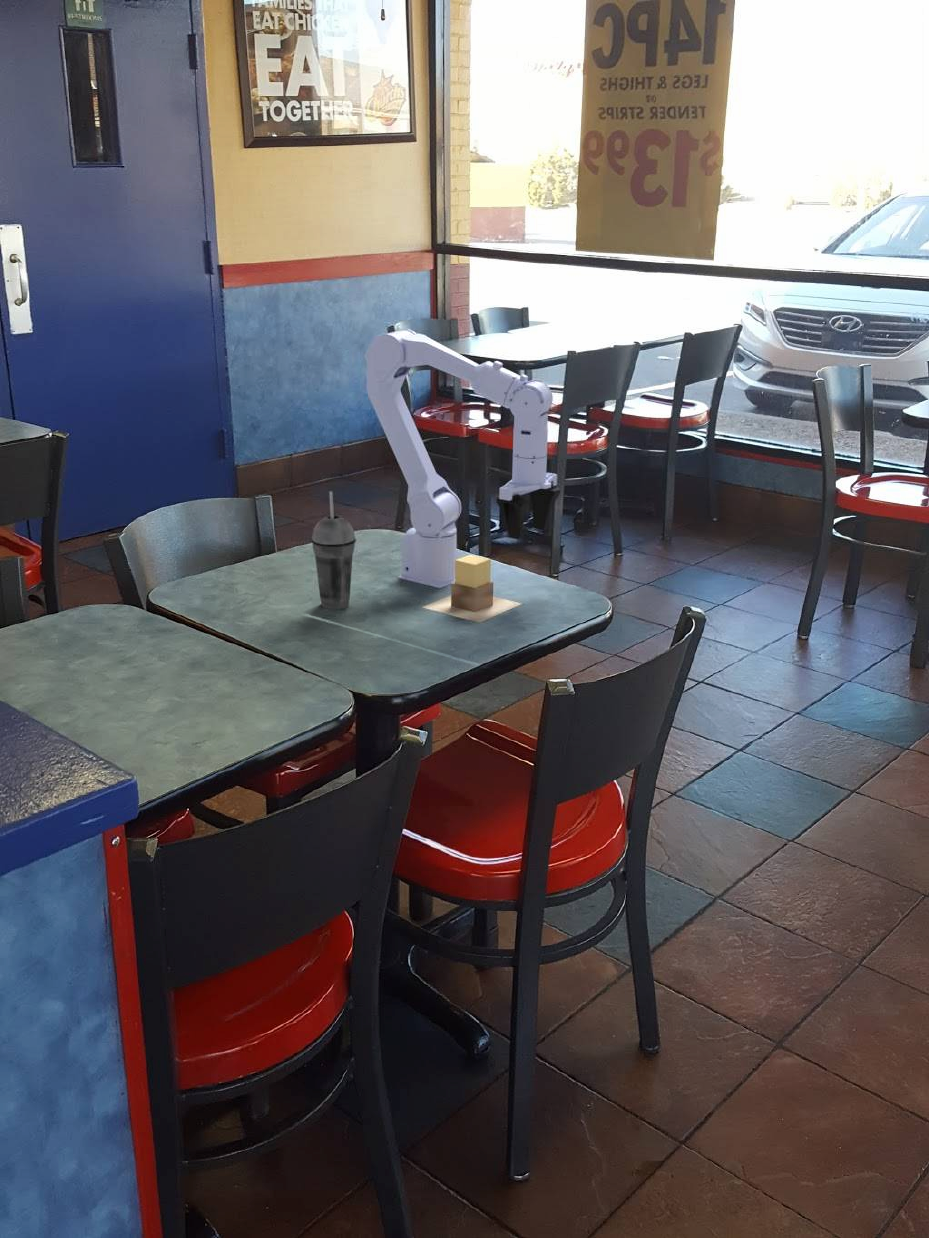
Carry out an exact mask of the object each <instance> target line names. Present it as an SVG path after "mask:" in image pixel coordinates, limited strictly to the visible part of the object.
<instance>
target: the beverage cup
mask: <svg viewBox="0 0 929 1238" xmlns="http://www.w3.org/2000/svg"><path fill="white" fill-rule="evenodd" d="M333 498H334V497H333V491H331V490H330V491H329V509H330V510H329V511H330V515H328V516H325V517H323V518H322V519H320V520H319V521H318V522H317V523H316V524H315V526H314V527H313V532H312V537H311V543H312V551H313V554H314V557H315V566H316V573H317V583H318V591H319V597H320V598H319V600H320V604H321V607H322V608H324V609H327V610H342V609H346V608H347V607H349V605H350V600H351V599H350V598H351V584H352V569H353V554H354V553H355V543H356V541H357V539H356V536H355V535H356V534H355V532H354V531H355V530H354V529H353V526H352V525H351V524H350V522H349V521H348V520H346V519H345V518H343V517H342V516H340V515H334V499H333Z"/></svg>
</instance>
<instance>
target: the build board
mask: <svg viewBox="0 0 929 1238" xmlns="http://www.w3.org/2000/svg"><path fill="white" fill-rule="evenodd" d="M520 605H522V603H520V602H517V601H513V600H508V599H504V598H501V597H497V596H493V605H491V606H489V607H487V608H484V609H482V610H480V611H477V612H472V611H468V610H464V609H460V608H456V607H452V606H451V594H450V595H448V596H446V597H443V598H441V599H438V600H436V601H434V602H431V603H428V604H426V605H424V606H422V607H421V608H423V609H427V610H430V611H432V612H433V611H434V612H438V613H441V614H445V615H448V616H452V617H455V618H456V617H457V618H459V619H464V620H467V621H472V622H476V623H479V624H480V623H483V622H486V621H487V620H490V619H491V618H492V619H493V618H494V617H496V616H499V615H500V614H503V613H505V612H508V611H509V610H512V609H514V608H517V607H519V606H520Z"/></svg>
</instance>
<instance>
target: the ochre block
mask: <svg viewBox="0 0 929 1238" xmlns="http://www.w3.org/2000/svg"><path fill="white" fill-rule="evenodd" d="M491 560H492V559H491V558H487V557H483V556H479V555H475V554H468V555H465V556H462V557H459V558H456V560H455V583H456V584H460V585H464V586H468V587H472V588H477V587H480V586H482V585H485V584H487V583H489V582H490V581H491V570H492V568H491V566H492V561H491Z"/></svg>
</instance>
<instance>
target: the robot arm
mask: <svg viewBox="0 0 929 1238" xmlns="http://www.w3.org/2000/svg"><path fill="white" fill-rule="evenodd" d="M364 359H365V361H366V364H367V365H366V393H367V397H368V398H369V400H370V403H371V404H372V407H373V409H374V412H375V414H376V416H377V418H378V420H379V423H380V425H381V428H382V429H383V431H384V434H385V436H386V438H387V440H388V443H389V445H390V447H391V450H392V452H393V454H394V456H395V458H396V461H397V463H398V465H399V468H400V469H401V473H402V474H403V477H404V479H405V482H406V483H407V485H408V488H407V489H408V490H407V497H406V499H407V500H406V502H407V503H408V506H409V511H410V517H409V518H410V522H411V525H412V527H411V528H409V529H408V530H407V531H406V532H405V533H404V535H403V537H402V541H401V542H402V543H401V574H400V575H399V576H398V578H399V579H402V580H406V581H410V582H414V583H418V584H422V585H426V586H431V587H434V588H441V589H442V588H444V587H447V586H449V585H451V583H453V582H455V560H457V530H458V529H457V527H456V521H457V520H458V519H459V518H460V515H461V513H462V501H461V500H460V498H459V496H458V495H457V494H456V493H454V491H452V490H451V488H450V486H449V485H448V483H447V481H446V480H445V479H444V478H443V477H442V476H440V475H439V474H438V473H437V472H436V469H435V466H434V465H433V463H432V461H431V458H430V456H429V453H428V451H427V449H426V447H425V445H424V442H423V440H422V437H421V434H420V433H419V431H418V429H417V426H416V424H415V421H414V419H413V417H412V415H411V412H410V410H409V408H408V405H407V404H406V401H405V399H404V396H403V394H402V391H401V388H402V386H403V384H404V381H405V379H406V376H407V374H408V373H409V372H410V370H411V369H412V368H413V367H418V366H420V367H421V366H426V365H428V366H430V367H433V368H434V369H437V370H439V371H442V372H444V373H446V374H449V375H452V376H454V377H456V378H459V379H461V380H463V381H465V382H468V383H470V385H471V387H472V390H473V392H474V394H476V395H479V396H481V397H483V398H484V399H486V400H489V401H491V402H493V403H495V404H496V405H499V406H501V407H504V408H506V409H509V410H510V412H511V414H512V416H514V418H513V419H514V421H513V437H512V438H513V441H512V443H513V444H512V470H511V471H512V475H511V476H512V477H511V480H509V481H508V482H507V483H505V485H503V486H501V487H499V493H498V494H499V495H496V498H495V500H496V504H497V505H498V507H499V509H500V511H501V513H502V515H503V519H504V521H505V526H506V530H507V534H508V538H509V539H513V540H521V539H522V536H523V529H524V520H525V517H526V516H525V515H526V512H527V509H528V507H529V504H530V503H531V509H532V525H533V529H537V530H542V531H545V530H546V529H547V526H548V523H549V519H550V516H551V512H552V509H553V508H554V505H555V502H556V501H557V499H558V497H559V495H560V494H561V488H559V487H555V486H557V484H558V474H556V473H552V472H547V463H548V462H547V460H548V434H549V433H548V431H549V428H548V424H549V423H548V422H549V421H548V419H549V417H548V416H549V414H548V411H549V409H550V408H551V407H552V404H553V400H554V399H553V397H554V396H553V392H552V391H551V389H550V387H549V386H548V385H547V384H546V383H544V382H543V381H542V380H540V379H531V380H528V379H529V376H528V375H526V374H523V373H522V374H521V375H519V374H517V373H515V372H513V371H511V370H509V369H507V368H504V367H503V366H504V364H503V363H502V362H500V361H498V360H496V361H493V362H491V361H490V360H489V361H485V362H482V363H481V364H478V363H477V362H475V361H473V360H471V359H469V358H467V357H466V356H463V355H462V354H460V353H458V352H456V351H454V350H452V349H451V348H449V347H447V346H445V345H444V344H441V343H440V342H438V341H435V340H434V339H432V338H430V337H428V336H427V335H425V334H422V333H417V332H415V331H414V330H411V329H410V328H399V329H397V330H396V331H392V332H389V333H381V334H378V335H376V336H375V337H373V339H372V340H371V342H370V343H369V345H368V347H367V349H366V352H365V354H364ZM525 494H529V498H530V501H529V500H524V499H522V497H521V496H522V495H525Z"/></svg>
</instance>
